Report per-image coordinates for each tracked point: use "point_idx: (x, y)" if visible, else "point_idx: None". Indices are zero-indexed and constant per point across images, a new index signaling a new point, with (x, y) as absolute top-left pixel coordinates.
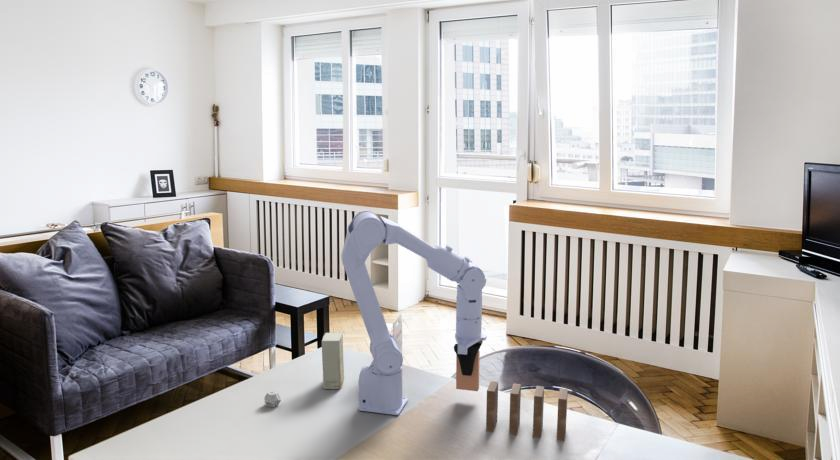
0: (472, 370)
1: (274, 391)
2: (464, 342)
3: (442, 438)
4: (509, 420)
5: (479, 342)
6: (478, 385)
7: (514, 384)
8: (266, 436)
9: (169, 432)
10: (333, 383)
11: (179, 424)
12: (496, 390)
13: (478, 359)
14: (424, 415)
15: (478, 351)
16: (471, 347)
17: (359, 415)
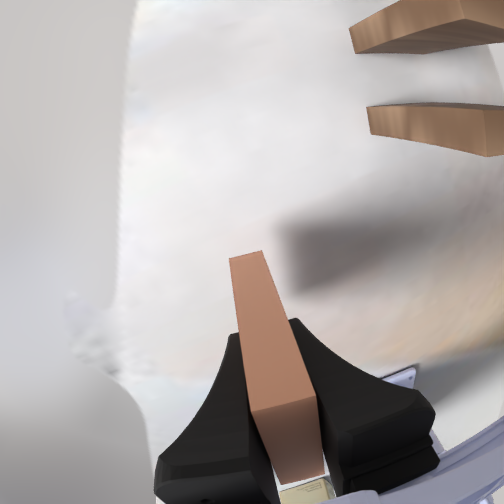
0: (308, 330)
1: None
2: (502, 481)
3: (487, 226)
4: (454, 48)
5: (240, 484)
6: (245, 264)
7: (470, 12)
8: (472, 426)
9: None
10: (330, 489)
11: None
12: (501, 108)
13: (287, 359)
14: (399, 325)
15: (261, 414)
16: (380, 461)
17: None
